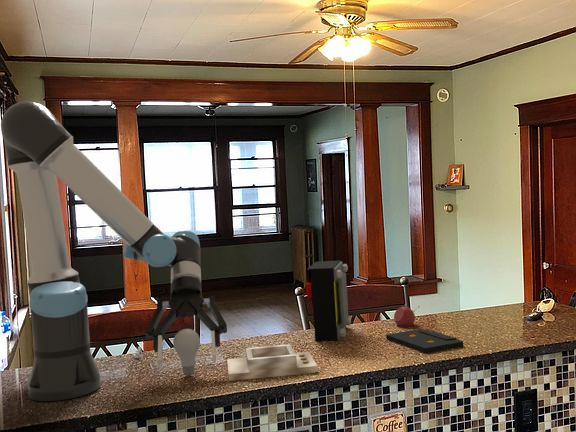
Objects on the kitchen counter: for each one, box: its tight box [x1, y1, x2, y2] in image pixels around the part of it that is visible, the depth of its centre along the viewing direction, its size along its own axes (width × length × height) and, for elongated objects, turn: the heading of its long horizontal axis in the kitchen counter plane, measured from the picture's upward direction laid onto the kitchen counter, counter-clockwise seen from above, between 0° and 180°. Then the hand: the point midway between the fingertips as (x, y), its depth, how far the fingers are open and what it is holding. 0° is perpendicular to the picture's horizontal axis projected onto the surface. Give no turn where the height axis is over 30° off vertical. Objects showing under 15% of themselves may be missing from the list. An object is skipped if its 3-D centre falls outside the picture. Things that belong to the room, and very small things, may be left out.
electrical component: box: [304, 260, 352, 342], centre depth 173 cm, size 18×10×20 cm, turn 168°
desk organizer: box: [226, 344, 319, 382], centre depth 141 cm, size 20×13×4 cm, turn 97°
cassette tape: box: [385, 328, 464, 355], centre depth 157 cm, size 18×12×2 cm, turn 22°
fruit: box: [393, 305, 420, 328], centre depth 179 cm, size 6×6×8 cm
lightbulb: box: [172, 328, 201, 378], centre depth 139 cm, size 6×6×11 cm
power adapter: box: [133, 346, 143, 359], centre depth 160 cm, size 3×3×3 cm
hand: (187, 361), depth 136 cm, fingers open, 11 cm apart
